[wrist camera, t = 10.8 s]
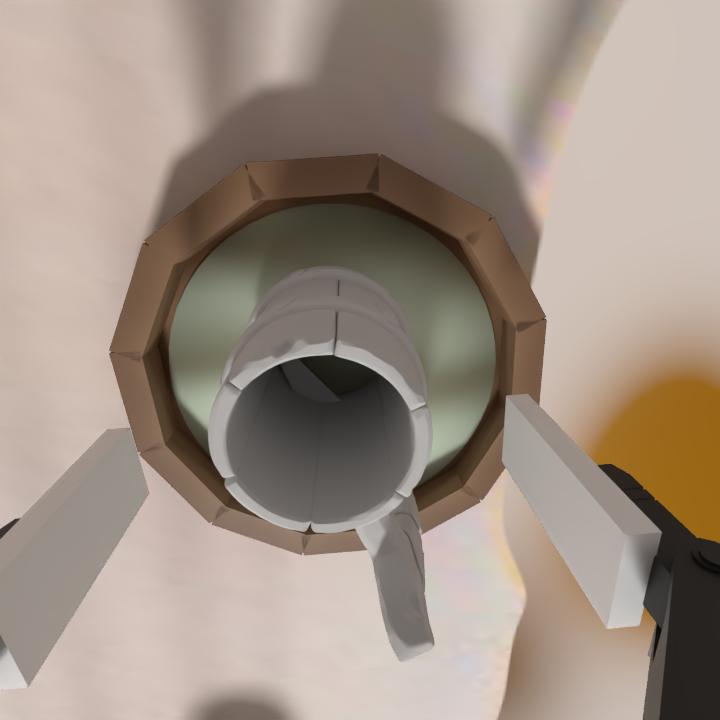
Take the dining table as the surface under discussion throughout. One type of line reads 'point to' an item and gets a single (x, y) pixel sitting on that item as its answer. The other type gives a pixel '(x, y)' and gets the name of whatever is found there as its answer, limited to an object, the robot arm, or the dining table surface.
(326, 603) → the dining table surface
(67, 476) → the robot arm
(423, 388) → the mug
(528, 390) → the tray
